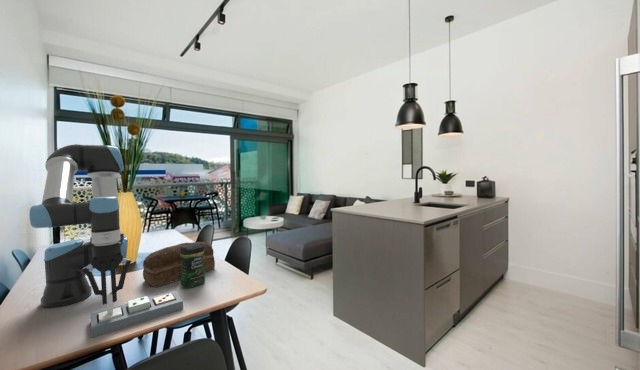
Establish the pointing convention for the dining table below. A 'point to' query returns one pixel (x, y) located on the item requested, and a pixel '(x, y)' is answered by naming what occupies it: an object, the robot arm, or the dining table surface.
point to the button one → (105, 316)
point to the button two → (138, 304)
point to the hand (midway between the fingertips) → (110, 312)
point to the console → (134, 315)
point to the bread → (171, 264)
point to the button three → (163, 299)
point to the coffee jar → (192, 265)
